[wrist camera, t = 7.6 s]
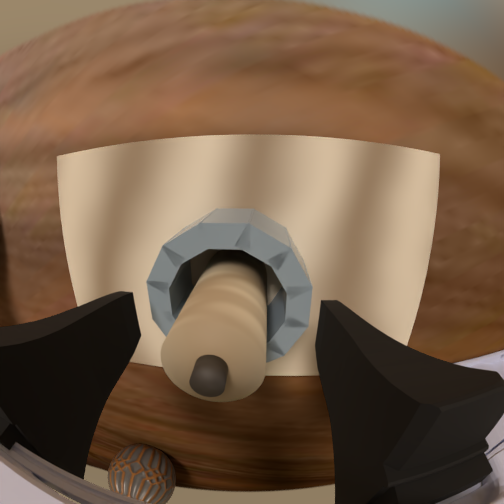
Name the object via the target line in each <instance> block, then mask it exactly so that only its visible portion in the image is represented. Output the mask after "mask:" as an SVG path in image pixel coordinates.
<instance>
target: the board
mask: <svg viewBox="0 0 504 504" xmlns="http://www.w3.org/2000/svg"><path fill="white" fill-rule="evenodd" d="M439 166H440V154H437V153H432V152H427V151H422V150H417V149H412V148H406V147H400V146H394V145H388V144H381V143H374V142H366V141H358V140H349V139H338V138H327V137H313V136H295V135H212V136H194V137H180V138H169V139H158V140H149V141H141V142H133V143H126V144H119V145H113V146H107V147H101V148H95V149H90V150H85V151H80V152H75V153H70V154H65V155H61V156H57V173H58V191H59V203H60V213H61V222H62V230H63V237H64V243H65V250H66V255H67V261H68V266H69V271H70V276H71V280H72V285H73V289H74V293H75V297H76V301H77V305H78V306H81V305H83V304H85V303H88V302H90V301H93V300H95V299H98V298H100V297H103V296H105V295H108V294H111V293H114V292H118V291H125V292H133V296H134V302H135V307H136V312H137V317H138V322H139V327H140V331H141V338H140V340H139V343H138V345H137V348H136V350H135V352H134V355H133V356H132V358H131V360H130V361H129V362H135V363H140V364H146V365H153V366H159V367H163V366H162V363H161V347H162V345H163V342H164V340H165V339H166V336H165V335H164V334H163V332H162V331H161V330H160V328H159V327H158V326H157V324H156V323H155V322H154V320H153V319H152V314H151V308H150V302H149V296H148V289H147V283H146V281H147V279H148V277H149V275H150V272H151V270H152V268H153V266H154V263H155V261H156V259H157V257H158V254H159V252H160V250H161V248H162V246H163V244H165V243H166V242H167V241H168V240H170V239H171V238H172V237H173V236H175V235H176V234H177V233H178V232H180V231H181V230H182V229H183V228H185V227H186V226H188V225H190V224H191V223H193V222H195V221H196V220H198V219H200V218H201V217H203V216H205V215H206V214H208V213H210V212H211V211H213V210H215V209H216V208H242V209H253V208H254V209H255V210H257V211H259V212H261V213H262V214H264V215H266V216H267V217H269V218H271V219H272V220H274V221H276V222H277V223H279V224H281V225H282V226H284V227H286V228H287V230H288V232H289V234H290V236H291V238H292V240H293V241H294V243H295V245H296V247H297V249H298V251H299V253H300V254H301V256H302V258H303V260H304V263H305V266H306V269H307V272H308V274H309V277H310V280H311V283H312V286H313V289H312V298H311V308H310V317H309V326H308V328H307V329H306V330H305V331H304V333H303V334H302V335H301V336H300V338H299V339H298V340H297V341H296V342H295V344H294V345H293V346H292V347H291V348H290V350H289V351H288V352H287V353H286V354H285V356H282V357H280V358H277V359H275V360H272V361H270V362H267V363H266V374H265V376H310V375H319V372H318V368H317V360H316V351H315V341H316V334H317V327H318V320H319V312H320V304H321V300H338V301H340V302H341V303H343V304H344V305H345V306H347V307H348V308H349V309H351V310H352V311H353V312H355V313H356V314H357V315H359V316H360V317H361V318H363V319H364V320H365V321H367V322H368V323H370V324H371V325H372V326H374V327H375V328H377V329H378V330H380V331H381V332H383V333H385V334H386V335H388V336H389V337H391V338H393V339H395V340H396V341H398V342H400V343H402V344H404V345H406V346H407V344H408V340H409V337H410V334H411V331H412V328H413V324H414V321H415V317H416V314H417V310H418V307H419V303H420V299H421V295H422V291H423V286H424V282H425V277H426V273H427V268H428V263H429V257H430V252H431V246H432V240H433V233H434V226H435V218H436V209H437V199H438V186H439ZM220 250H222V249H207V250H205V251H203V252H202V253H200V254H198V255H196V256H195V257H193V258H192V259H191V261H190V263H191V277H192V284H193V286H194V287H195V285H196V283H197V282H198V280H199V278H200V276H201V275H202V273H203V271H204V270H205V268H206V266H207V264H208V263H209V261H210V259H211V258H212V257H213V255H215V254H216V253H217V252H218V251H220ZM264 264H265V267H266V270H267V305H269V304H270V302H271V301H272V300H273V298H274V297H275V295H276V294H277V293H278V291H279V290H280V288H281V287H282V284H281V282H280V281H279V279H278V277H277V275H276V274H275V272H274V270H273V268H272V267H271V266H269V265H268V264H266V263H264Z"/></svg>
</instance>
